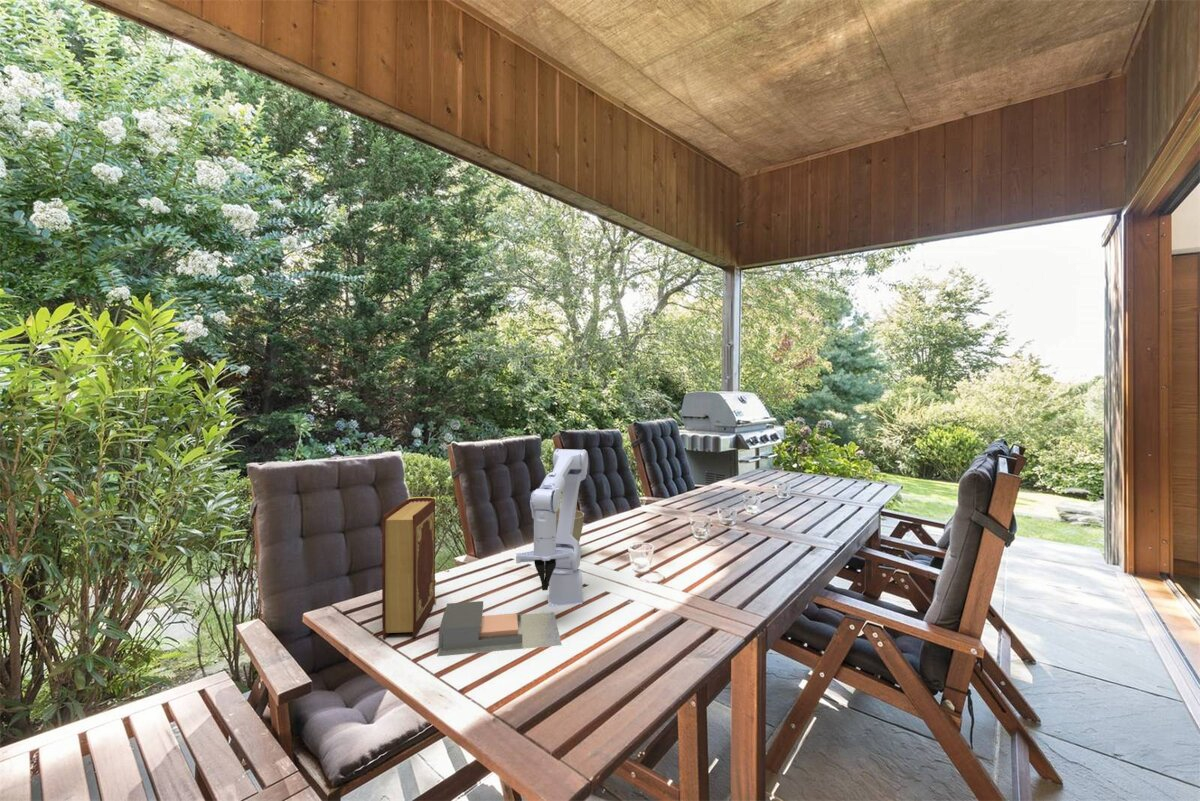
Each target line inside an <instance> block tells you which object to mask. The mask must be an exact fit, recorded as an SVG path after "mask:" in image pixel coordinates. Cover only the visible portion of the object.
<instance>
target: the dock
mask: <svg viewBox="0 0 1200 801" xmlns="http://www.w3.org/2000/svg"><path fill="white" fill-rule="evenodd" d="M483 611H484V600H481V601H480V600H479V601H467V602H466V601H465V602H451V603H450V602H449V603H446V607H445V610H444V611H443V615H442V618H441V621H440V622H441V623H440V626H439V630H438V651H437V653H436V657H446V656H457V655H469V654H479V653H480V654H482V653H492V652H500V651H501V652H502V651H512V650H514V651H515V650H524V649H525V650H526V649H536V648H545V647H557V646H562V641H561V637H560V636H561V635H560V632H559V627H558V623H557V619H556V615H555V612H554V611H553V612H552V611H551V612H539V613H525V614H522V613H521V612H516V613H517V621H518V634H515V635H503V636H492V637H480V638H479V631H481V625H482V616H483V613H484V612H483ZM513 614H515V613H513ZM490 615H491V614H490ZM490 615H487V616H490ZM500 615H502V614H500Z"/></svg>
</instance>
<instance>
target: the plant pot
mask: <svg viewBox="0 0 1200 801" xmlns="http://www.w3.org/2000/svg"><path fill="white" fill-rule="evenodd" d="M559 513H560V509H558V510H557V512H556V534H557V527H558V520H559ZM584 518H585V513H584V512H583V511H580V510H576V513H575V521H574V529H573V537H574V538H575V539H576V540H577V541H578V542H579V543H580V541H581V537H582V531H583V526H584ZM569 548H572V547H569Z"/></svg>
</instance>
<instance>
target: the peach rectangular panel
mask: <svg viewBox="0 0 1200 801" xmlns="http://www.w3.org/2000/svg"><path fill="white" fill-rule="evenodd" d="M517 613H518V612H516V613H515V614H514V613H506V614H505V613H504V614H502V615H501V614H492V615H491V614H490V616H488V615H482V625H481V631H479V638H480V637H492V636H503V635H515V634H518V621H517Z"/></svg>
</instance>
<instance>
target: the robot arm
mask: <svg viewBox="0 0 1200 801" xmlns="http://www.w3.org/2000/svg"><path fill="white" fill-rule="evenodd" d="M552 465H553V469H552V472H549V473H547V474H546V475H545V477H544V479H543V480H542V482H541V484H540V486H539V487H538V488H536V489H535V490H532V492H531V495H530V501H529V505H530V510H531V518H532V519H533V550H531V551H526V552H519V553H515V555H516V556H515V558H516V559H515V561H516V562H515V563H516V564H521V563H527V562H528V563H530V562H534V567H535V569H536V571H537V573H538V576H539V579H540V583H541V590H542V591H548V590H549V591H548V592H549V593H548V594H547V595H546V600H547V603H548V607H559V606H560V607H562V606H571V605H572V606H573V605H582V604H583V573H582V569H580V565H581V558H582V556H581V550H582V546H581V544H580V541H579V542H578V541H577V540H576V539H575V538H574V537H573V529H574V521H575V513H576V511H577V505H578V503H577V502H578V499H579V498H578V497H579V491H580V490H579V489H580V485H581V482H582V481H584V480H586V478H587V475H588V474H587V472H588V468H589V454H588V451H587V450H586V449H565V448H563V449H562V448H561V449H560V448H556V449H555V450H554V451H553V455H552ZM557 510H560V513H559V520H558V527H557V534H556V512H557ZM569 547H572V548H569Z"/></svg>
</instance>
